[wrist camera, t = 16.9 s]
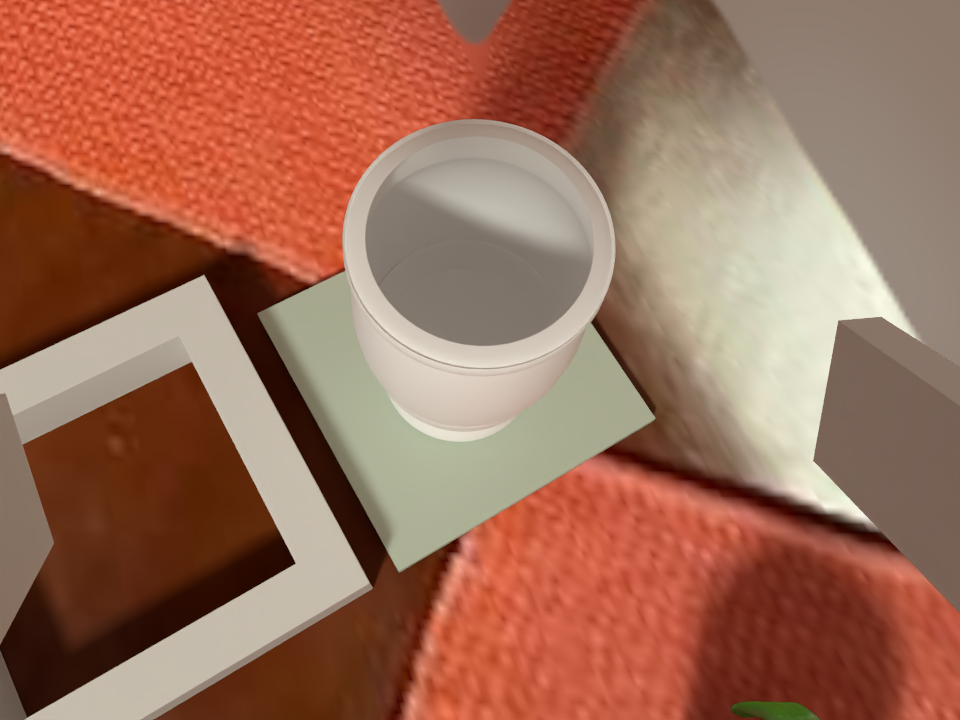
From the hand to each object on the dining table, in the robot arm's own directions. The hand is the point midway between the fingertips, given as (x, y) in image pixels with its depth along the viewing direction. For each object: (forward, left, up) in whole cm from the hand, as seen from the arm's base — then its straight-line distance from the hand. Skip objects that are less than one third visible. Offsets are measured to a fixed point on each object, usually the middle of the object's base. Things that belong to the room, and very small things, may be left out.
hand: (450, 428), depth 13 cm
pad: (-9, +7, -30) cm, 32 cm away
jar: (-9, +7, -29) cm, 31 cm away
